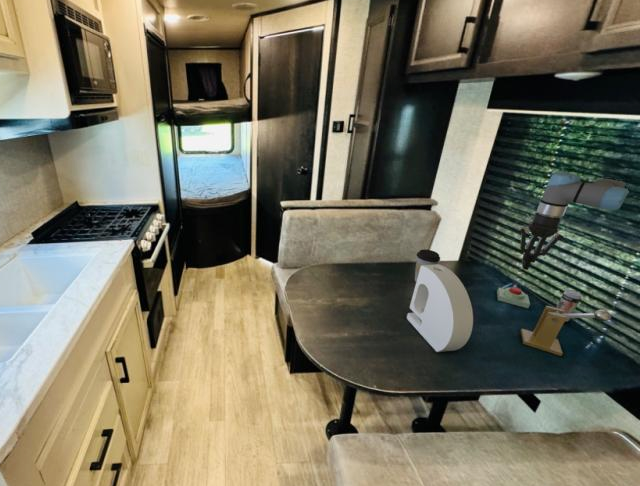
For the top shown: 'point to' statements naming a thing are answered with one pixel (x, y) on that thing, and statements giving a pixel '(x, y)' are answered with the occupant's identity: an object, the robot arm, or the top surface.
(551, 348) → the bracket
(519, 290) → the button
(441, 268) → the white curved block
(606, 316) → the tap lever
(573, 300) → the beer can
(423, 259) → the coffee cup
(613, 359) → the top surface
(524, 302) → the button block
